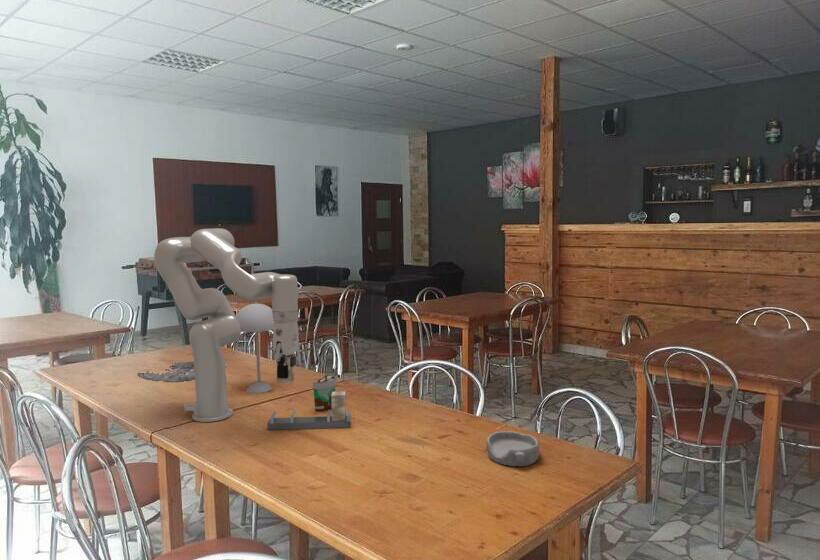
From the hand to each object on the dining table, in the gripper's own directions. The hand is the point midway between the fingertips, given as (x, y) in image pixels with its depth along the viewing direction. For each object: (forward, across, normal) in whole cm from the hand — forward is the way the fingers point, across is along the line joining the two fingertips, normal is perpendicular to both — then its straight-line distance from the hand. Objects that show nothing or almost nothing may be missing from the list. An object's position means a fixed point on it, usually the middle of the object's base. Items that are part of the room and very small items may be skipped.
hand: (285, 375), depth 180 cm
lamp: (+18, +38, +25) cm, 49 cm away
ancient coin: (+20, +60, +70) cm, 94 cm away
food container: (+17, +21, -7) cm, 28 cm away
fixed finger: (+14, +5, -15) cm, 21 cm away
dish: (+15, -13, -68) cm, 71 cm away
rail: (+16, +3, -7) cm, 18 cm away
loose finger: (+2, 0, 0) cm, 2 cm away
